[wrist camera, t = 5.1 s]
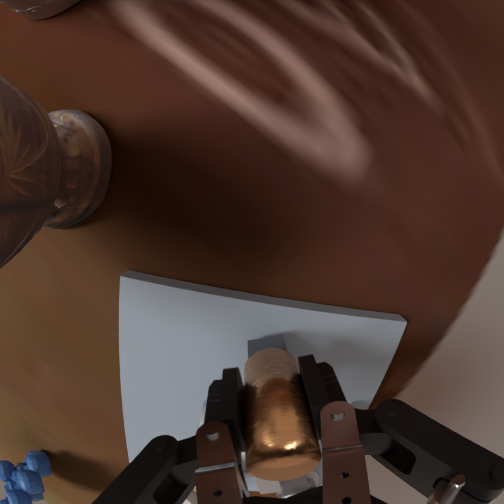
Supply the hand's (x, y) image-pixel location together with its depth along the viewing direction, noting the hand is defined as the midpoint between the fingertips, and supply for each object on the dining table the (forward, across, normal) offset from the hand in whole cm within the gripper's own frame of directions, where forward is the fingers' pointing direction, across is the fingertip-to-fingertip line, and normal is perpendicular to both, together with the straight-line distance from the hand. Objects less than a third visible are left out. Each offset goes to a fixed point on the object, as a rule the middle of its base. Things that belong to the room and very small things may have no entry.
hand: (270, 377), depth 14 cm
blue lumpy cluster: (+5, +29, +14) cm, 32 cm away
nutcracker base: (+5, +3, +7) cm, 9 cm away
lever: (+3, 0, +9) cm, 9 cm away
